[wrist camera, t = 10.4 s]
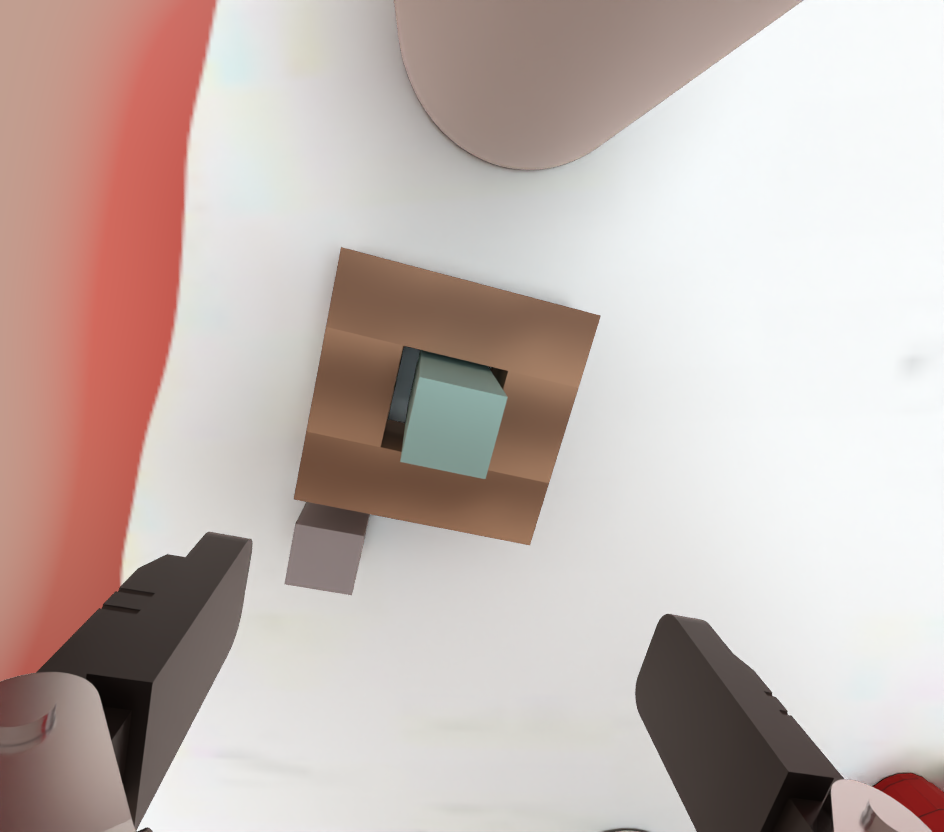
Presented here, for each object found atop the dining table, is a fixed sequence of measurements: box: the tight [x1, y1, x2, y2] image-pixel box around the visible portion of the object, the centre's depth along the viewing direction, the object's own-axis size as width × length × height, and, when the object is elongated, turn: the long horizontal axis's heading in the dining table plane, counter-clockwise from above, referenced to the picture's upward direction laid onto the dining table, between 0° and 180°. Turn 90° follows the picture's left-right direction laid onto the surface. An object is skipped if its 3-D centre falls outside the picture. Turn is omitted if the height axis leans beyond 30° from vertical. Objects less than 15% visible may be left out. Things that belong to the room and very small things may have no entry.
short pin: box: [285, 502, 370, 595], centre depth 29 cm, size 3×3×5 cm
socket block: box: [294, 247, 600, 545], centre depth 28 cm, size 12×12×5 cm
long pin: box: [400, 350, 508, 479], centre depth 25 cm, size 3×3×10 cm
